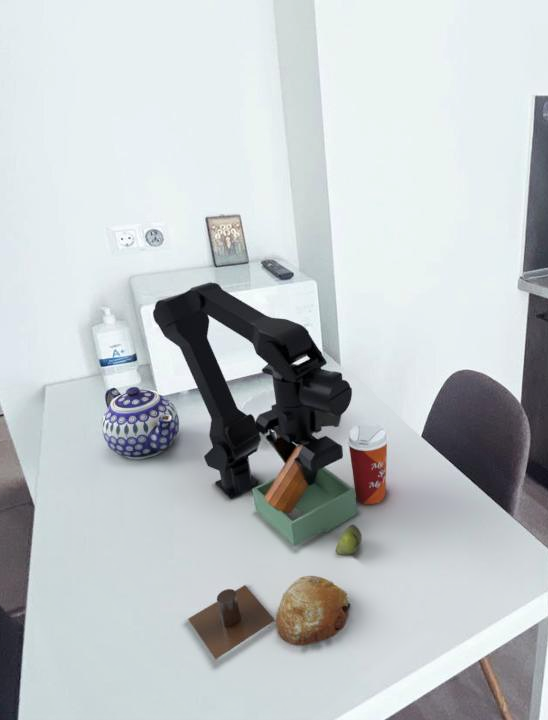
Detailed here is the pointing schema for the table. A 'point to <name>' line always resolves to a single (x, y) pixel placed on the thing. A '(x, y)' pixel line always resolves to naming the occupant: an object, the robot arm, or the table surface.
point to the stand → (230, 620)
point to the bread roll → (311, 611)
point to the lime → (349, 541)
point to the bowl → (259, 404)
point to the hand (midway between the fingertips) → (302, 477)
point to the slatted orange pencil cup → (287, 485)
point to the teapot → (139, 422)
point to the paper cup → (368, 461)
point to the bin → (311, 507)
